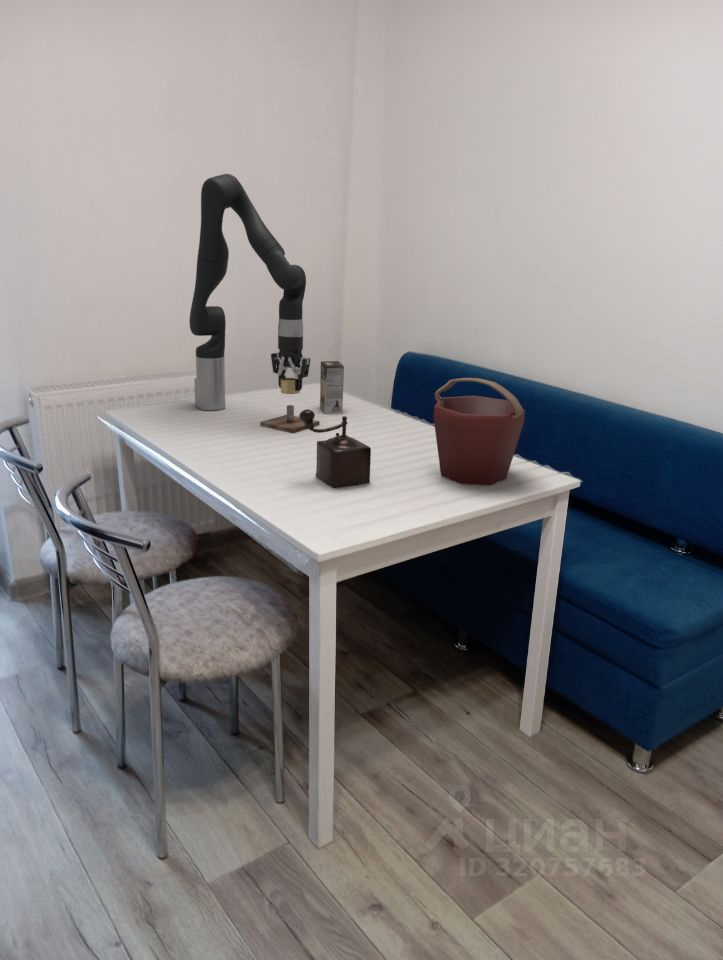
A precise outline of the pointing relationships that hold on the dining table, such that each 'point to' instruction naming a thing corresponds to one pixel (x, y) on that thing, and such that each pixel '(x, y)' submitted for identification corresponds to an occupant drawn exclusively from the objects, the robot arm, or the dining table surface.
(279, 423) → the post stand
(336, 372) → the coffee box
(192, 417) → the dining table surface
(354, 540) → the dining table surface
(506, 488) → the dining table surface
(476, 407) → the bucket
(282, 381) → the gold octagonal ring
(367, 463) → the manual coffee grinder
